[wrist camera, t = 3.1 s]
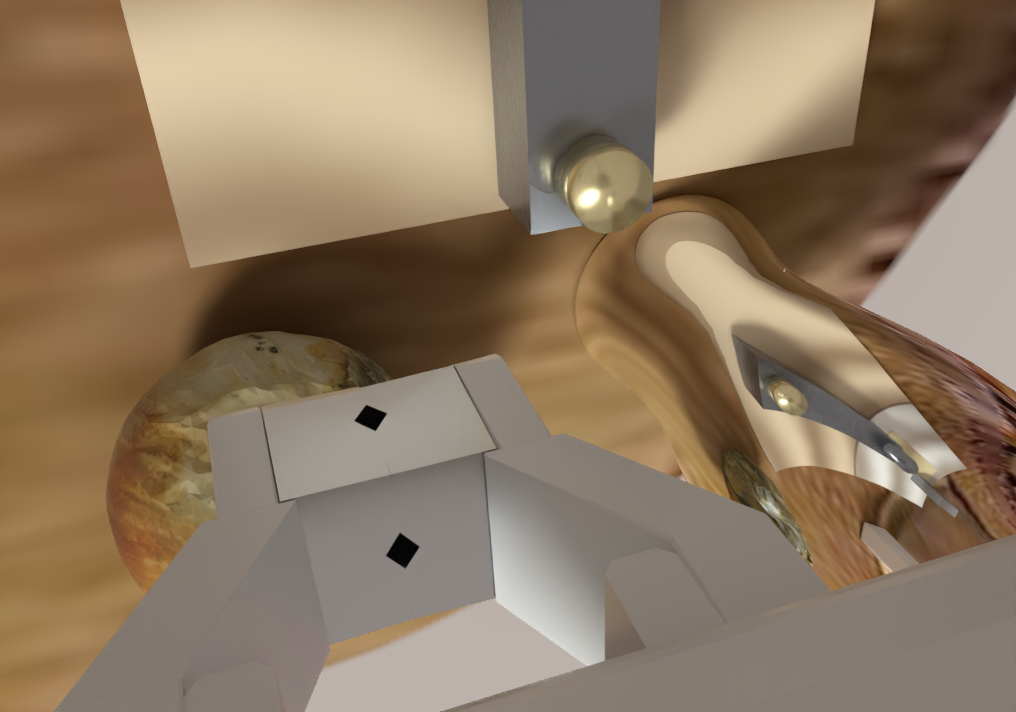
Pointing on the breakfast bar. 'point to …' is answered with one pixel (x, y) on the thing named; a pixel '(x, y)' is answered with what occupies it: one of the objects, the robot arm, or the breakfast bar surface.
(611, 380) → the breakfast bar surface
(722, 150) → the door board
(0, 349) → the breakfast bar surface
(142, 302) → the breakfast bar surface
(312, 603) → the robot arm
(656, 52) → the bar
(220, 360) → the onion
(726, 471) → the beer glass
